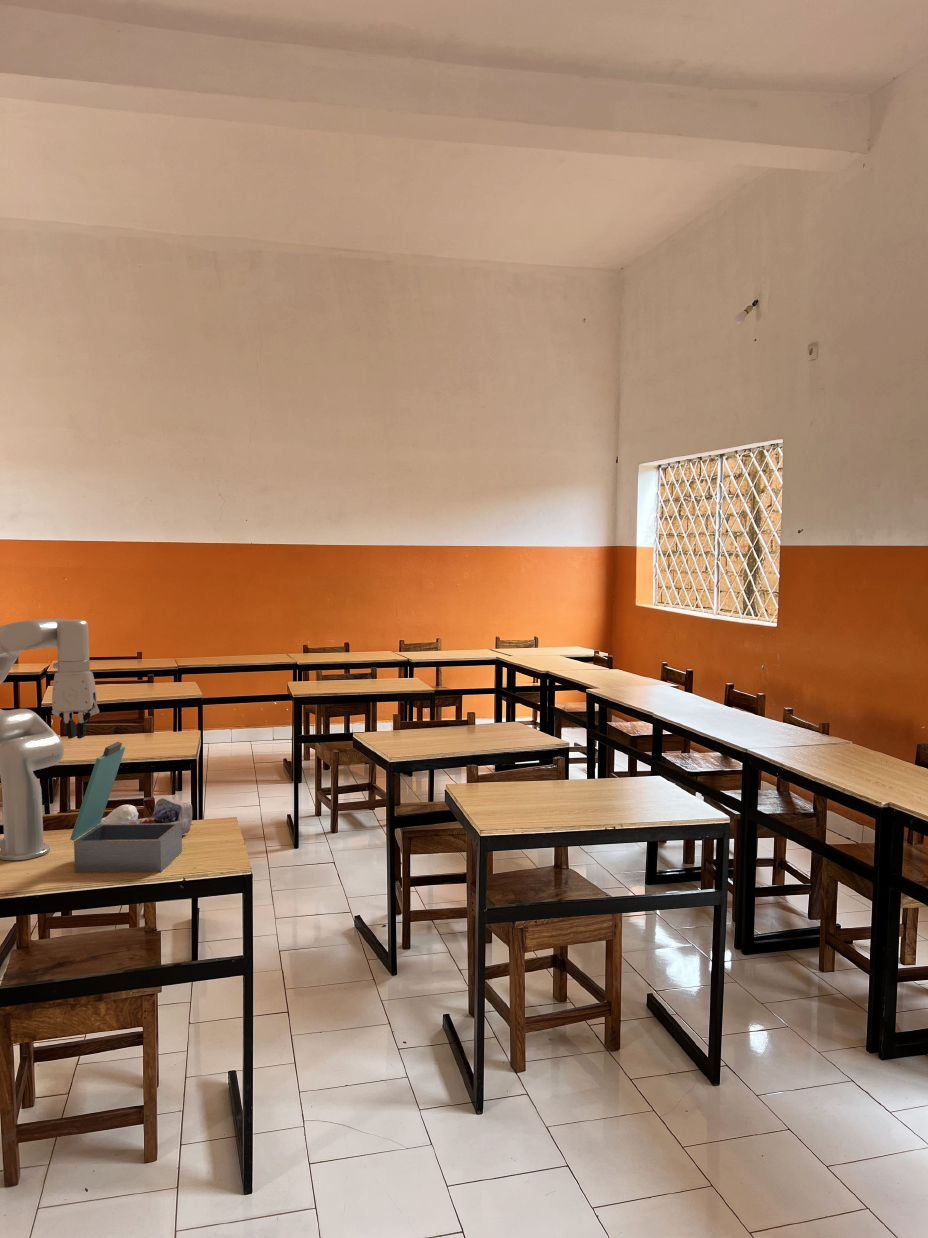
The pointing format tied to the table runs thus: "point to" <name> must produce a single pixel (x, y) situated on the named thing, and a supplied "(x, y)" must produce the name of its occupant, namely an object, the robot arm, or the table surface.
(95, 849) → the grey storage box
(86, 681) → the robot arm
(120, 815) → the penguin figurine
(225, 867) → the table surface
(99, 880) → the table surface
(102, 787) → the lid
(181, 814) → the cell model
